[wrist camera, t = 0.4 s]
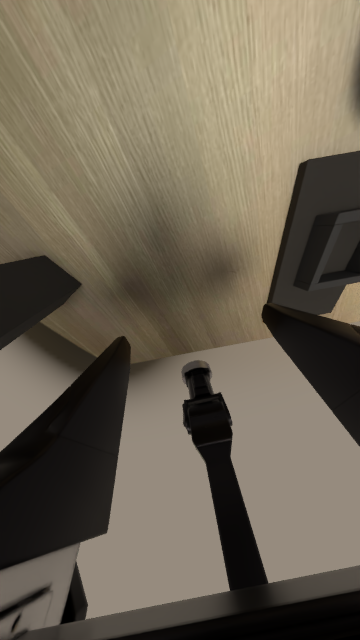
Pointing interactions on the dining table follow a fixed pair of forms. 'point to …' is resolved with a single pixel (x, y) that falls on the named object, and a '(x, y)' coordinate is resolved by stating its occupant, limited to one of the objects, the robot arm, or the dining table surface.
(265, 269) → the dining table surface
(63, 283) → the pad block
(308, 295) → the base pad
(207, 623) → the robot arm
